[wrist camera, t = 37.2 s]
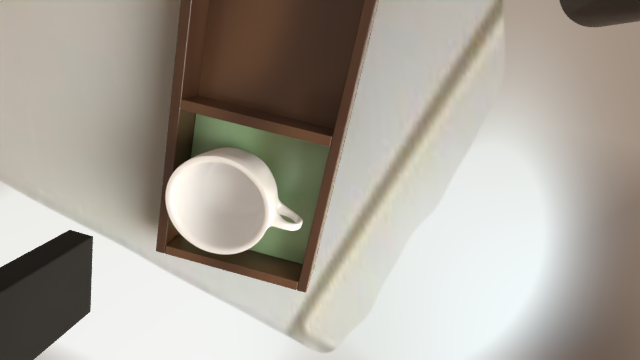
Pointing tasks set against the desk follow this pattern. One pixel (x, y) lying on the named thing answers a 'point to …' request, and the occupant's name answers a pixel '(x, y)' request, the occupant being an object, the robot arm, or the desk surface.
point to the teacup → (225, 201)
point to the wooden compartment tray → (267, 113)
